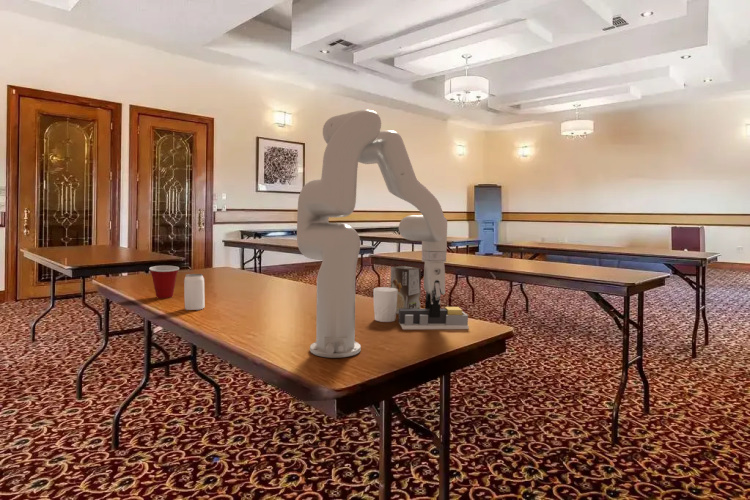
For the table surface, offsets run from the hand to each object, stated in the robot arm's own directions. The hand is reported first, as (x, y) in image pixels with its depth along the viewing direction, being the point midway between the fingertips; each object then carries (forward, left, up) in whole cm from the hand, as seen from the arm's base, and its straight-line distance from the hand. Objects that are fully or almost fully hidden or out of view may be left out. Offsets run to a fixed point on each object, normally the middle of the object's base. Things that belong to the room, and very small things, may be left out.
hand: (432, 314), depth 140 cm
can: (+25, +79, -4) cm, 83 cm away
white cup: (+8, +14, -4) cm, 16 cm away
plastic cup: (+47, +97, -4) cm, 108 cm away
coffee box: (+17, +6, -4) cm, 18 cm away
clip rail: (0, 0, -3) cm, 3 cm away
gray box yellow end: (0, +1, -2) cm, 3 cm away
